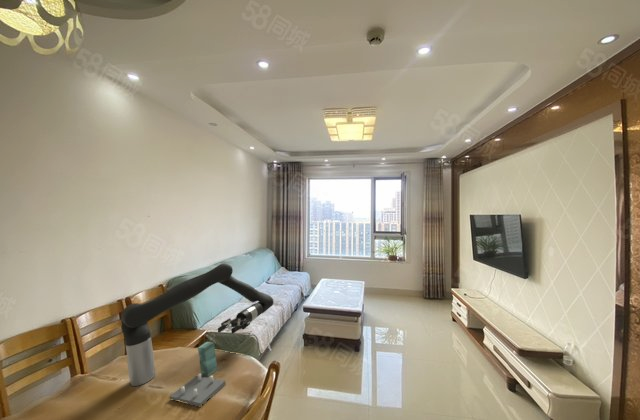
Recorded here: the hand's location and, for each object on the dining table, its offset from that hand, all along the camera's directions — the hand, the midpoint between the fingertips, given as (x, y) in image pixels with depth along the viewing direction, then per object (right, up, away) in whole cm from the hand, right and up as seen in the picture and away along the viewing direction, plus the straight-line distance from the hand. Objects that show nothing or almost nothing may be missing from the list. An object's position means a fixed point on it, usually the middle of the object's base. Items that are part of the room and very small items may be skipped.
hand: (225, 331), depth 121 cm
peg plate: (-2, -13, -23) cm, 26 cm away
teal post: (-3, -13, -11) cm, 17 cm away
